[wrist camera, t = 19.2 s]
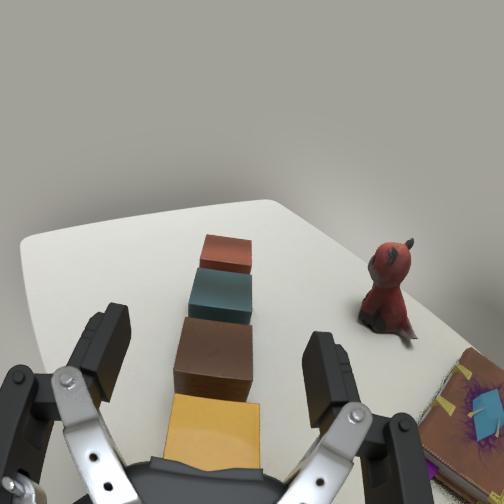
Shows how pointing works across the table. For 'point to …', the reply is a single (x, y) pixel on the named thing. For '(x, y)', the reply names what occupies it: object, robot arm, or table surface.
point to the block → (213, 433)
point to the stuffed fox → (388, 290)
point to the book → (468, 430)
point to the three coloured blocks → (218, 325)
